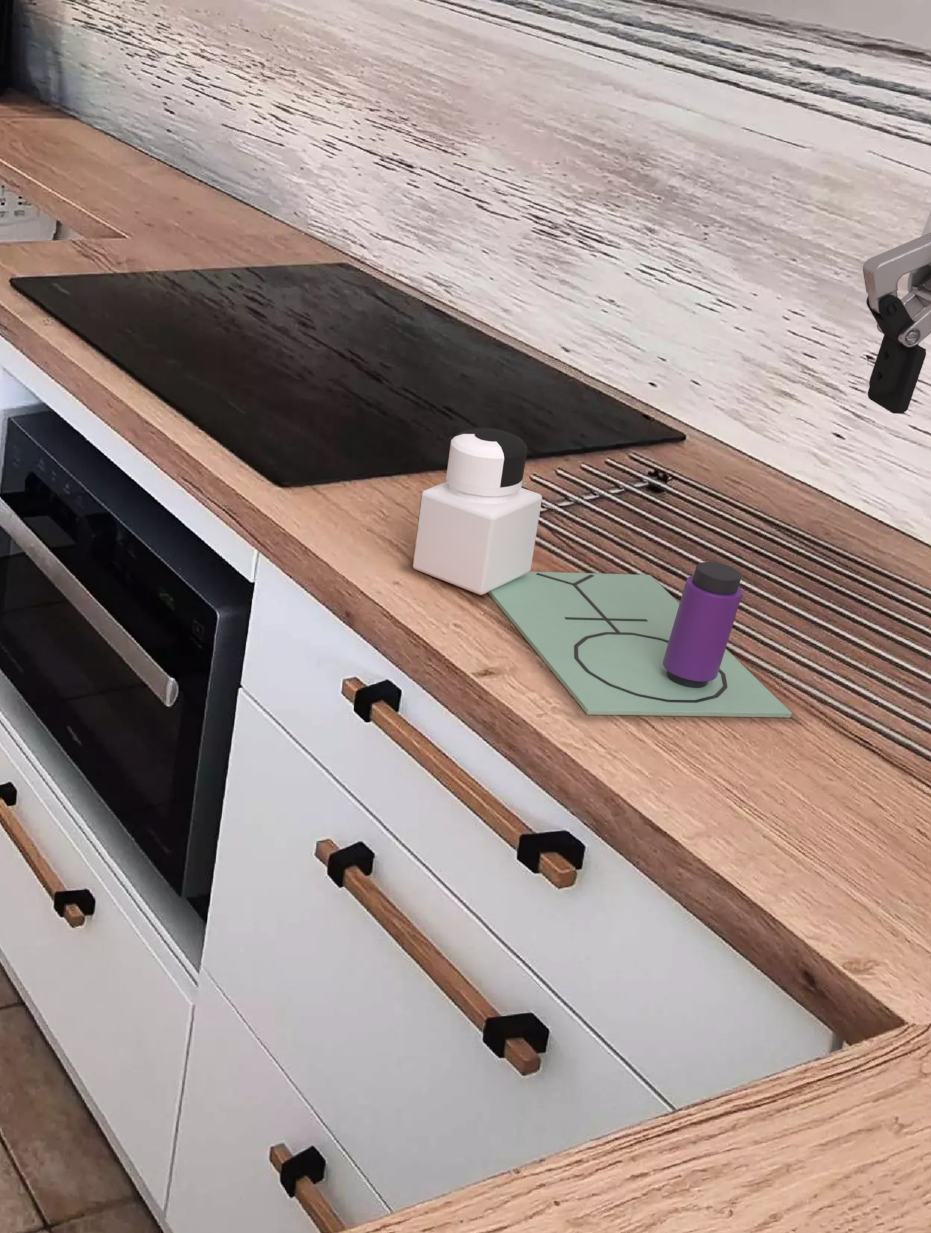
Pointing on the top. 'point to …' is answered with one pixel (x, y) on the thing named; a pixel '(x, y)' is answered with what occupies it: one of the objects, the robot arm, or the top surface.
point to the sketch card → (621, 647)
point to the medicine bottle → (479, 514)
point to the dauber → (703, 624)
